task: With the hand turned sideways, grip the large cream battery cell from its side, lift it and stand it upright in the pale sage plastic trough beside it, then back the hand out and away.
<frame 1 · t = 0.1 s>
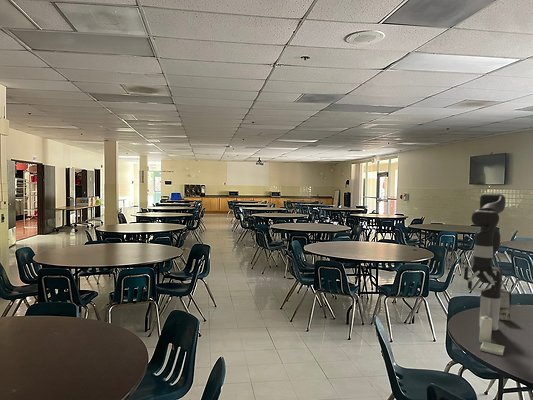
hand: (481, 291, 178), 29 cm above the table, tool pointing down, fingers open, 8 cm apart
battery cell: (484, 342, 195), on the table
coffee box: (501, 318, 235), on the table
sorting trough: (492, 349, 186), on the table
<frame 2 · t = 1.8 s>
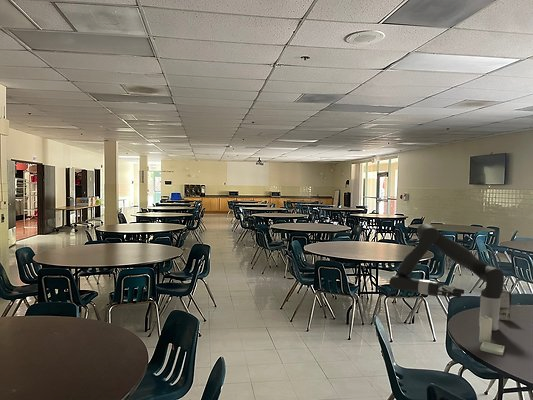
hand: (462, 293, 201), 22 cm above the table, tool horizontal, fingers open, 8 cm apart
nothing on the table moved.
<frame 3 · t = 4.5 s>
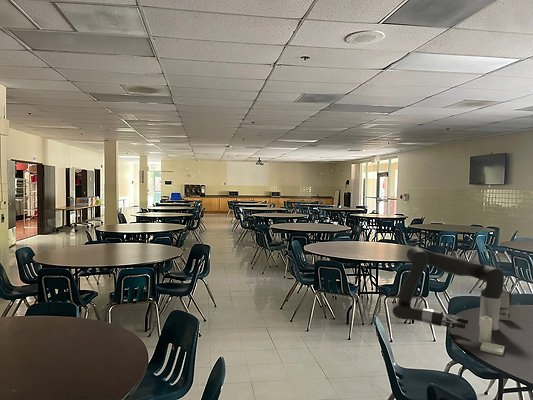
hand: (466, 324, 200), 7 cm above the table, tool horizontal, fingers open, 8 cm apart
nothing on the table moved.
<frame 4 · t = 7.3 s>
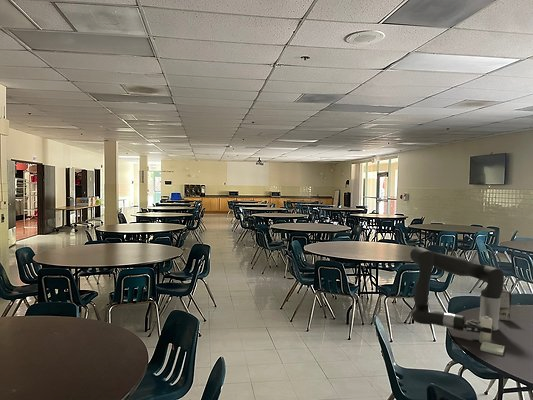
hand: (491, 329, 194), 7 cm above the table, tool horizontal, fingers closed on battery cell, 5 cm apart
battery cell: (484, 342, 195), on the table, touching gripper
everything else where it was.
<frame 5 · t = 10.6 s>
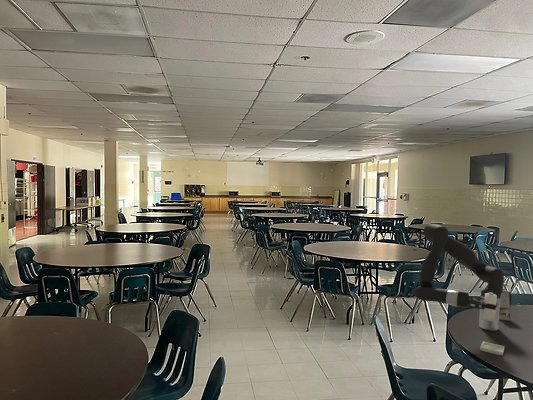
hand: (496, 306, 189), 20 cm above the table, tool horizontal, fingers closed on battery cell, 5 cm apart
battery cell: (489, 319, 191), point 13 cm above the table, touching gripper
everything else where it was.
when the fingers open (9 cm above the table, at t = 14.2 s): battery cell drops 1 cm, resting on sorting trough.
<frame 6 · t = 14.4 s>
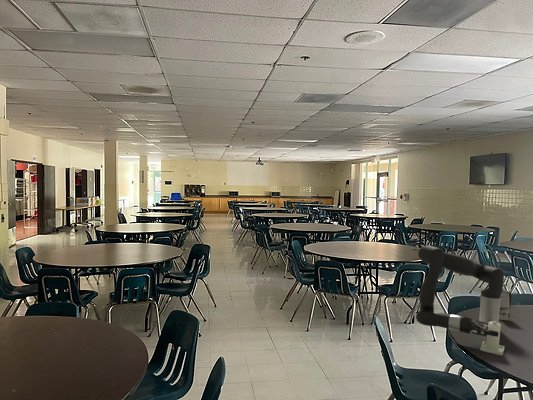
hand: (499, 332, 185), 9 cm above the table, tool horizontal, fingers open, 7 cm apart
battery cell: (492, 348, 186), point 1 cm above the table, touching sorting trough
everything else where it was.
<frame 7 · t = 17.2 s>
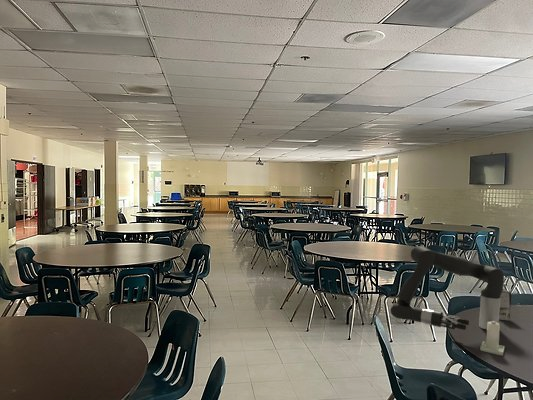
hand: (467, 325, 192), 9 cm above the table, tool horizontal, fingers open, 8 cm apart
nothing on the table moved.
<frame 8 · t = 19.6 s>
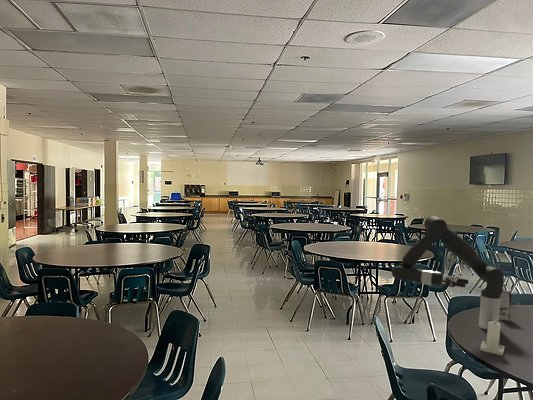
hand: (466, 283, 197), 28 cm above the table, tool horizontal, fingers open, 8 cm apart
nothing on the table moved.
at the end: battery cell 0.1 cm off-centre on the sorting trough, point 0.6 cm above the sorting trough's base; battery cell tilted 2°; the gripper is holding nothing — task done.
